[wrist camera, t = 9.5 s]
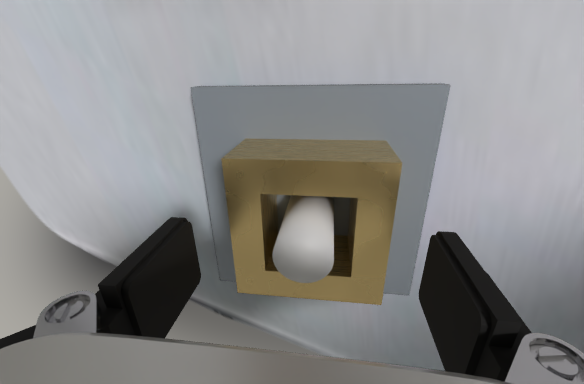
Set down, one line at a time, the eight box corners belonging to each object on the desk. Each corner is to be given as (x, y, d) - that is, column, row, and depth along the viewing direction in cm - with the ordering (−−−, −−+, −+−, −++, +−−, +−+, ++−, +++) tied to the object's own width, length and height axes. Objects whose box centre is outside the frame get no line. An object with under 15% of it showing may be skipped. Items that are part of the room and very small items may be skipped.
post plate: (442, 83, 13) (519, 95, 8) (405, 283, 18) (436, 377, 13) (199, 86, 15) (121, 97, 9) (225, 270, 20) (183, 348, 14)
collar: (386, 140, 14) (402, 162, 10) (371, 258, 16) (381, 304, 13) (245, 138, 14) (221, 158, 11) (255, 251, 17) (237, 292, 14)
